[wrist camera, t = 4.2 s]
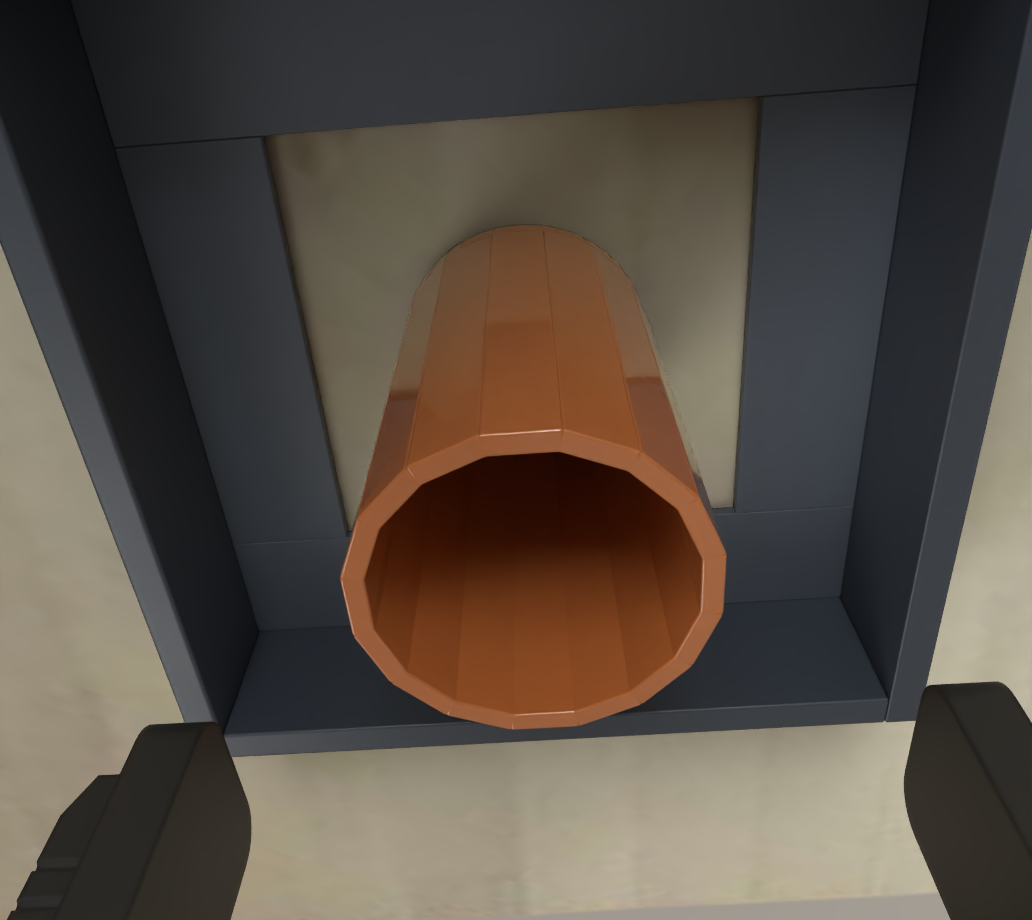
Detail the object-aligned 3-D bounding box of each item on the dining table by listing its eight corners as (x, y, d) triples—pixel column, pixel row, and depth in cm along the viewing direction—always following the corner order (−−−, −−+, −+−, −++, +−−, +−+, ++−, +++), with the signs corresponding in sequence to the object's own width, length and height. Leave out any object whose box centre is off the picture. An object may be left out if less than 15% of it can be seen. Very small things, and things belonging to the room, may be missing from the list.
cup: (423, 451, 22) (375, 737, 14) (389, 233, 19) (309, 446, 12) (645, 437, 22) (717, 720, 14) (645, 214, 19) (736, 417, 11)
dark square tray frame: (239, 646, 25) (197, 760, 22) (12, -68, 16) (-121, -63, 13) (863, 610, 25) (918, 721, 21) (992, -155, 16) (1125, -173, 12)
